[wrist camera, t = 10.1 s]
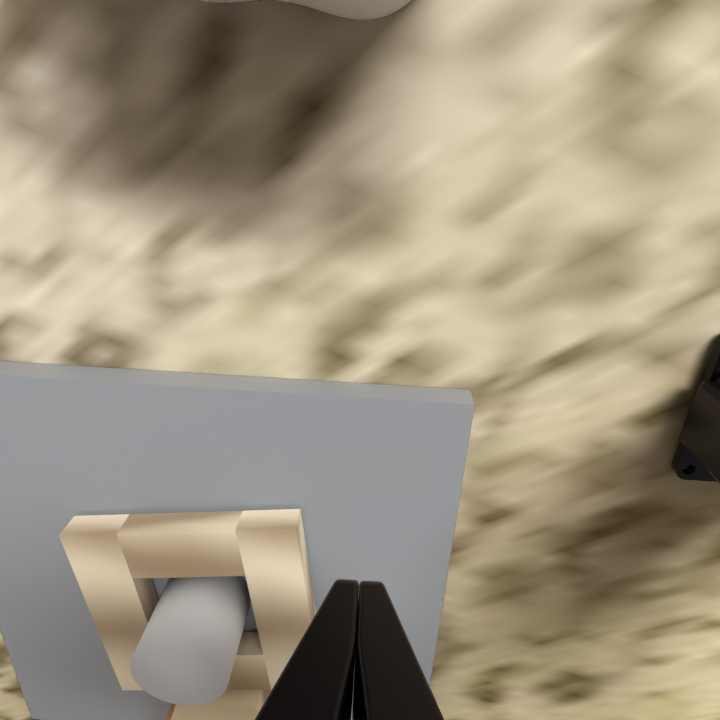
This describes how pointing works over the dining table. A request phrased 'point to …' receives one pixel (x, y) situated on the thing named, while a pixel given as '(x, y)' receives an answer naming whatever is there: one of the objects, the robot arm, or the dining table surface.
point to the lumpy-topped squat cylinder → (346, 7)
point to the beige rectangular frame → (197, 559)
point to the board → (209, 494)
